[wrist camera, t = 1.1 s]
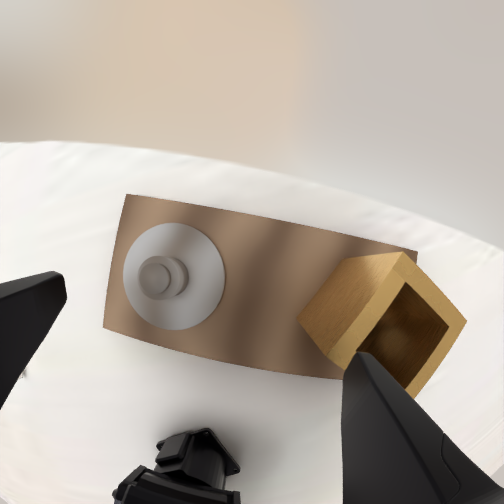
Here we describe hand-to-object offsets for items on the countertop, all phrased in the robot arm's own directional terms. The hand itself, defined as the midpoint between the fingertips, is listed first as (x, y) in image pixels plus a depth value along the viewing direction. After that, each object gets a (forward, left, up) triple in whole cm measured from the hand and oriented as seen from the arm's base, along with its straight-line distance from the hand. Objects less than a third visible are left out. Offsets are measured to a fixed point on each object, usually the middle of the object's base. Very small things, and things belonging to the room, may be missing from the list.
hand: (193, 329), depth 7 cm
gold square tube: (-6, -7, -15) cm, 17 cm away
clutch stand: (-1, -2, -16) cm, 16 cm away
